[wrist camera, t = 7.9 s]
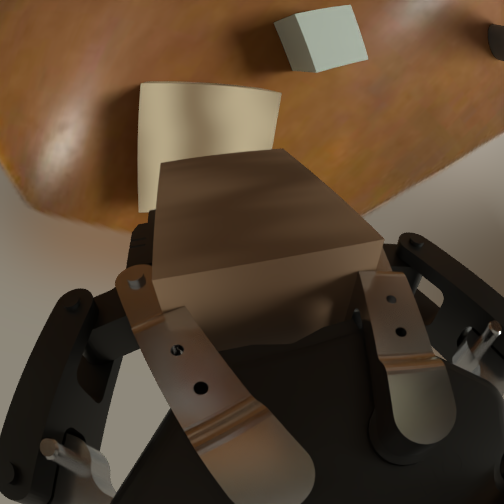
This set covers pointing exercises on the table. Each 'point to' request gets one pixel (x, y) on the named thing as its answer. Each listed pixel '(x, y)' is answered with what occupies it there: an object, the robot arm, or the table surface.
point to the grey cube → (321, 39)
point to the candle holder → (496, 40)
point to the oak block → (198, 125)
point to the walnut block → (256, 247)
